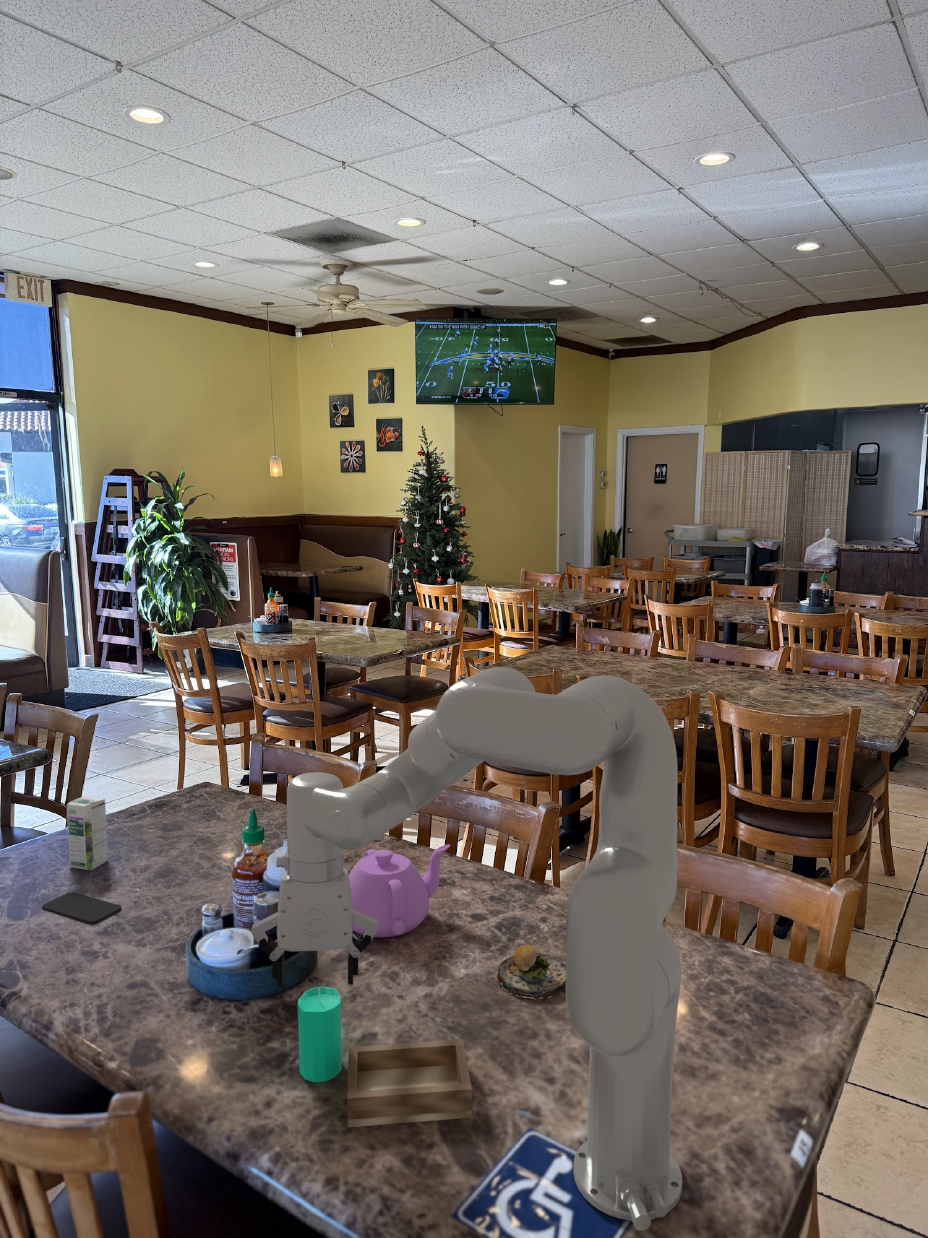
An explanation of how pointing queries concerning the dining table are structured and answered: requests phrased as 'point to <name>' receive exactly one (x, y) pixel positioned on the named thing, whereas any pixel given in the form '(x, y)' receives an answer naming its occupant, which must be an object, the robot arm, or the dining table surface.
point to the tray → (408, 1083)
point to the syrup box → (87, 833)
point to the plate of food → (531, 973)
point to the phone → (82, 907)
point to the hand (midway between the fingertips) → (315, 980)
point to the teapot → (393, 890)
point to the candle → (320, 1034)
